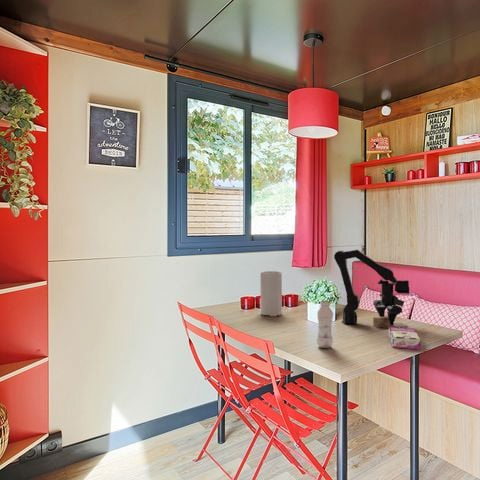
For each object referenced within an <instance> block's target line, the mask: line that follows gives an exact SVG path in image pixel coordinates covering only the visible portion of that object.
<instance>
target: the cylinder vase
mask: <svg viewBox="0 0 480 480" xmlns="http://www.w3.org/2000/svg"><path fill="white" fill-rule="evenodd" d="M282 273H283V272H282V271H274V270H272V271H271V270H266V271H260V314H261V315H262V314H263V315H262V316H264V315H270V316H269V317H276V316H275V315H279V316H282V313H283V307H282V305H283V303H282V302H283V299H282V298H283V296H282V295H283V293H282V290H283V289H282V288H283V287H282V284H283V283H282V282H283V279H282V278H283V275H282Z"/></svg>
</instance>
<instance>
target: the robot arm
mask: <svg viewBox="0 0 480 480" xmlns="http://www.w3.org/2000/svg"><path fill="white" fill-rule="evenodd" d="M333 257H334V260H335V263H336V264H337V266H338V268H339V270H340V274H341V278H342V282H343V286H344V289H345V292H346V304H345V305H344V307H343V309H342V310H343V311H342V321H341V322H342V323H343V324H344V325H346V326H350V325H353V326H354V325H358V314H357V312H356V311H357V310H358V309H359V307H360V303H361V300H360V295H359V294H358V293H356V292H355V290H354V288H353V283H352V281H351V276H350V273H349V268H348V259H354V258H356V259H357V260H359V261H361V262H362V263H363V264H365V265H366V266H368V267H370V268H371V269H372V270H374V271H375V273H377V274H378V275H379V276H380V277H381V278H380V280H379V281H377V284H378V285H380V286H381V293H380V294H379V297H380V299H376V300H374V301H373V303H372V304H373V306H374V308H375V310H376V313H377V314H378V317H385V313H387V316H388V318H389V321H390V324H391V325H393V323H395V321H396V318H397V316H398V315H400V314H401V313H403V307H404V303H405V301H404V300H402V299H399V297H397V296H396V295H394V292H396V294H403V295H409V294H410V285H409V283H410V281H409V280H407V279H405V280H402V279H401V280H398V279H397V278H396V277H395V275H394V272H393V270H392V269H391V268H390V267H387V266H384V265H382V264H379V263H378V262H376V261H375V260H373V259H372V258H370V257H369V256H368V255H366V254H365V253H363V252H362V251H360V250H359V249H354V250H353V249H352V250H348V251H344V250H338V251H336V252H335V253H334V255H333ZM386 310H387V311H386Z"/></svg>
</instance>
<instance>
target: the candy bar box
mask: <svg viewBox="0 0 480 480" xmlns="http://www.w3.org/2000/svg"><path fill="white" fill-rule="evenodd" d="M388 338H389V341H390V344H391V348H393V349H394V348H397V349H407V350H409V349H411V350H421V337H420V336H419V334H418V333H417V331H416V330H415V328H408V327H401V328H398V327H388Z"/></svg>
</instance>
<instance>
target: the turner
mask: <svg viewBox="0 0 480 480" xmlns="http://www.w3.org/2000/svg"><path fill="white" fill-rule="evenodd" d="M372 319H373V321H372V323H373V328H375V329H381V328H380V327H384V328H389V327H398V328H399V327H401V328H408V327H409V325H407V324H405V323H402V322H397V323H395V322H394V323H393V325H391V324H390V321H389V318H388V315H387V316H384V317H380V316H374V317H373V318H372Z"/></svg>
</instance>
